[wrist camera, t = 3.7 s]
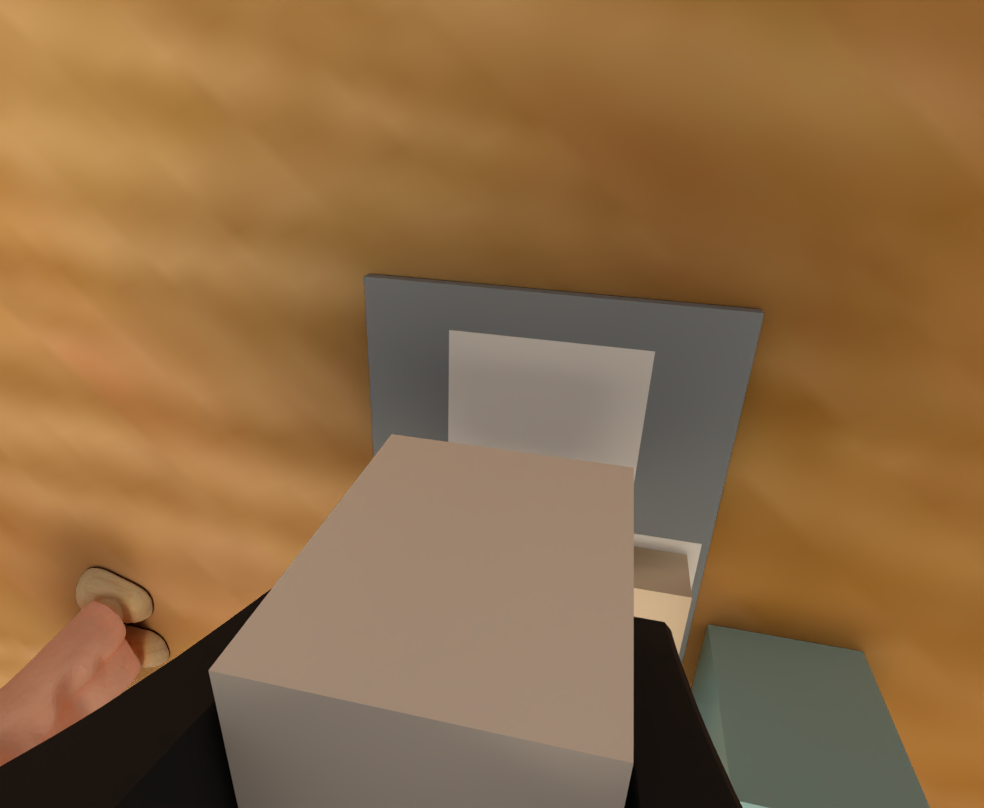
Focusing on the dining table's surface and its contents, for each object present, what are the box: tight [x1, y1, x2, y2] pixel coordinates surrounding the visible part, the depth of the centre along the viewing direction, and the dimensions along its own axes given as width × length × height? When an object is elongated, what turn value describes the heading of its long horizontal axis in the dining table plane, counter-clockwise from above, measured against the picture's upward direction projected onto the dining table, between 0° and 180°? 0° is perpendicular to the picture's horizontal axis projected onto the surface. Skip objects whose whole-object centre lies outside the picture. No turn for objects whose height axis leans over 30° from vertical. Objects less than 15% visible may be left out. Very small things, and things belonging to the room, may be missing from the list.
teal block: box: [691, 624, 930, 808], centre depth 15 cm, size 4×4×5 cm
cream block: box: [208, 434, 634, 808], centre depth 9 cm, size 4×4×5 cm
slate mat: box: [364, 274, 764, 664], centre depth 17 cm, size 9×14×1 cm, turn 179°
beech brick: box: [634, 547, 692, 655], centre depth 17 cm, size 8×5×2 cm, turn 89°
